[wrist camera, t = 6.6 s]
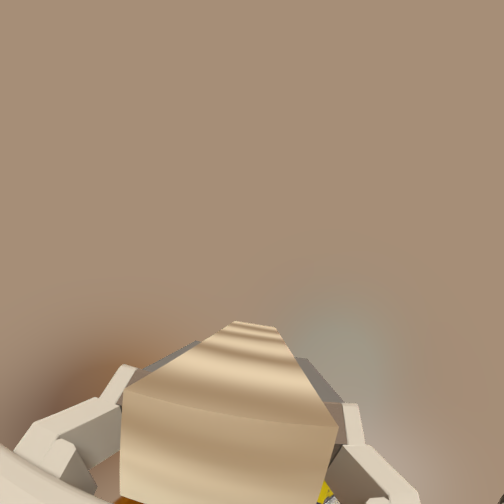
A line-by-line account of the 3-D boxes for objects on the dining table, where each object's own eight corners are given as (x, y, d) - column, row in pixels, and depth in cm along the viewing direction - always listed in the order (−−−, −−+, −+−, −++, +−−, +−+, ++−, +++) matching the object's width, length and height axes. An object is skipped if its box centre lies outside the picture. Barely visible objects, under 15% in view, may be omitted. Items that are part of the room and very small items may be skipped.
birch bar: (303, 538, 4) (339, 426, 5) (120, 504, 5) (123, 389, 5) (270, 356, 30) (275, 327, 31) (230, 350, 30) (235, 320, 31)
